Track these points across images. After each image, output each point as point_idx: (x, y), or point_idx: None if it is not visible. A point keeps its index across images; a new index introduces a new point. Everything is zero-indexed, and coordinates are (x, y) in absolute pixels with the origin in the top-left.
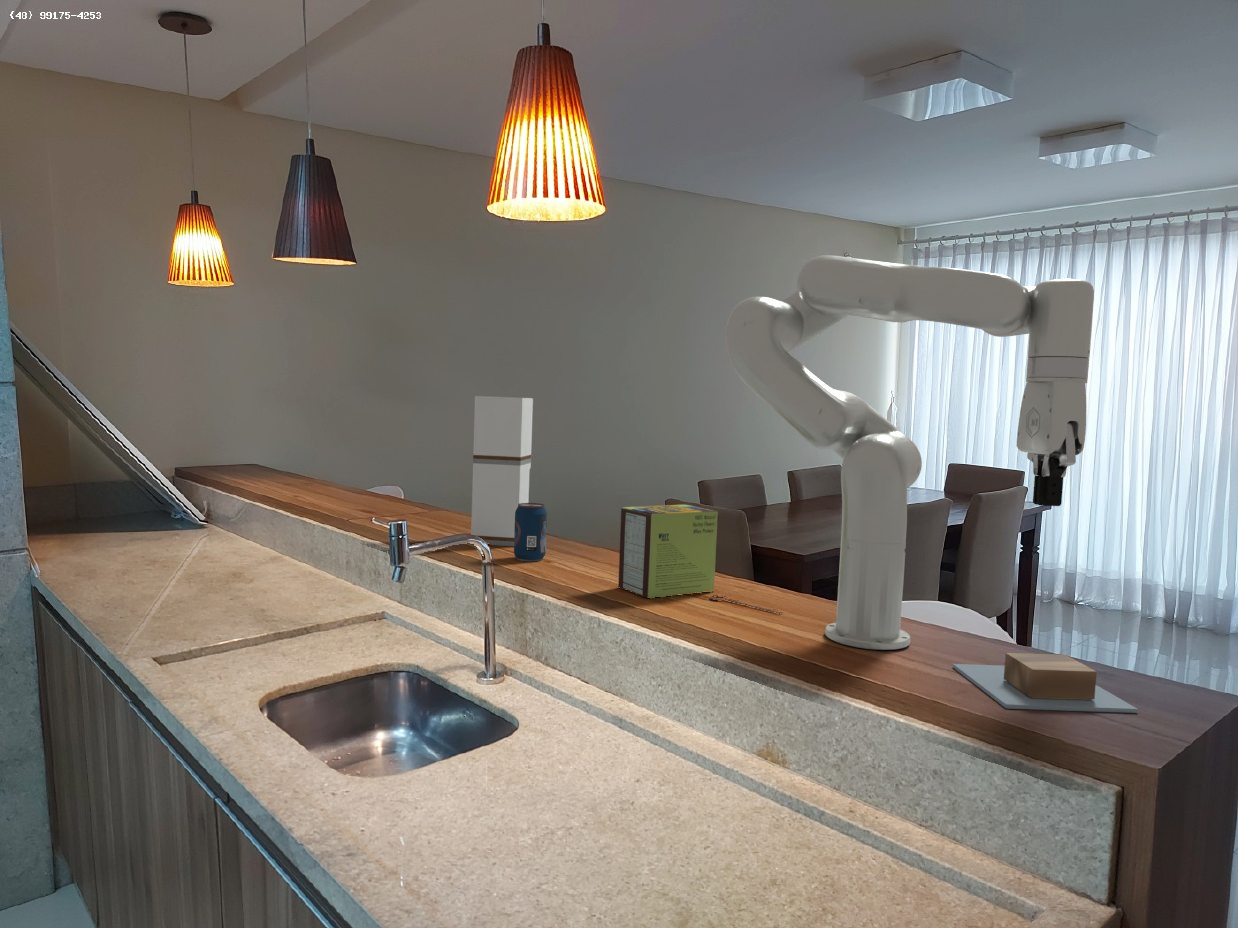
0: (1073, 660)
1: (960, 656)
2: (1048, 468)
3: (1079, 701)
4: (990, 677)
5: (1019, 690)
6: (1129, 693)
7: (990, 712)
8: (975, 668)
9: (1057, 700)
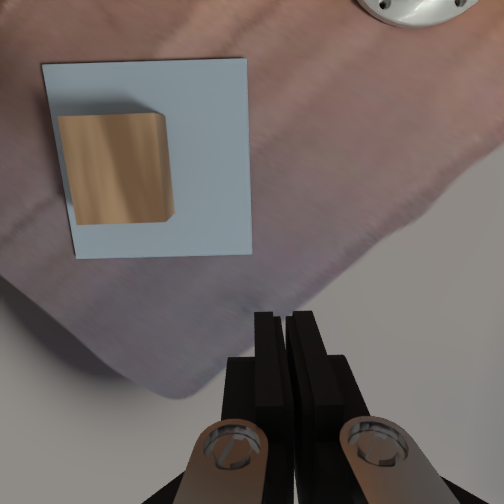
0: (133, 218)
1: (316, 104)
2: (179, 489)
3: None
4: (177, 98)
5: None
6: (162, 290)
7: (20, 30)
8: (225, 92)
9: None
